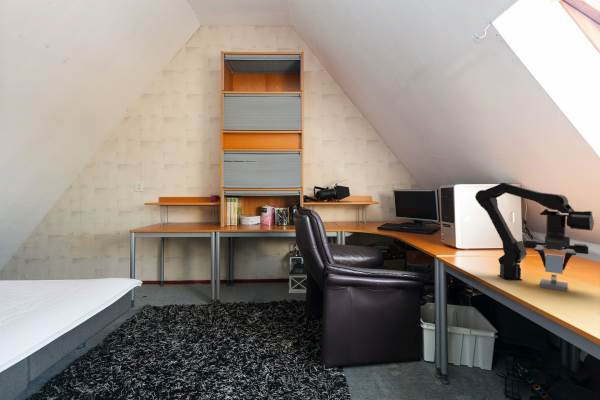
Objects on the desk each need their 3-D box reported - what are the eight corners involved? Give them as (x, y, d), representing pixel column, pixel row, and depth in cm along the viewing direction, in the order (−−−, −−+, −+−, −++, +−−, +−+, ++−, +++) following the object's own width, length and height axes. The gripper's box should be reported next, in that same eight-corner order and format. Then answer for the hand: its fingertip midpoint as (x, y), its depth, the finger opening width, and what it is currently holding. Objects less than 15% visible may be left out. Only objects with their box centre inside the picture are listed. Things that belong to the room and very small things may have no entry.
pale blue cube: (545, 271, 121) (545, 255, 120) (546, 269, 124) (546, 253, 124) (562, 274, 117) (562, 257, 117) (562, 271, 121) (563, 255, 121)
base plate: (539, 287, 121) (539, 275, 120) (541, 282, 127) (541, 271, 127) (567, 291, 115) (567, 279, 115) (567, 286, 121) (568, 274, 121)
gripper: (522, 227, 120) (521, 268, 121) (589, 232, 108) (587, 277, 109) (526, 225, 129) (525, 263, 129) (588, 229, 117) (587, 271, 117)
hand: (554, 268), depth 121 cm, fingers closed on pale blue cube, 5 cm apart
